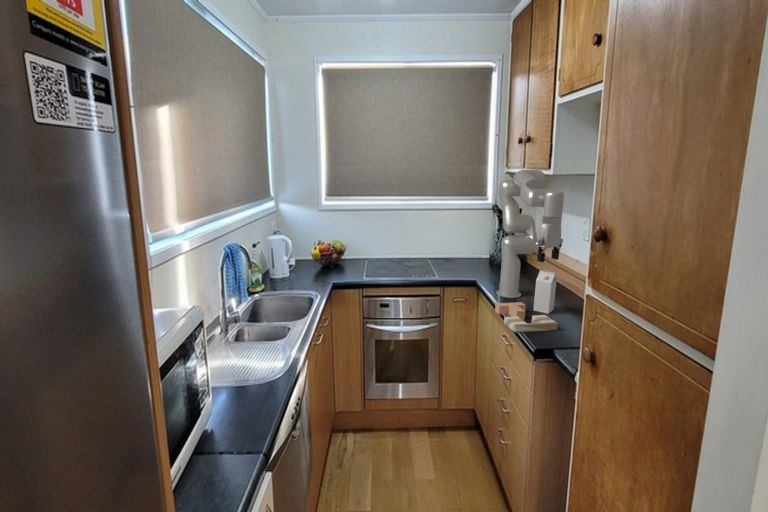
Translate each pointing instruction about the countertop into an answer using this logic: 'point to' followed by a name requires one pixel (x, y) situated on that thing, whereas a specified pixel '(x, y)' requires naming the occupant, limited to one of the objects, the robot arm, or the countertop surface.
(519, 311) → the t block
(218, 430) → the countertop surface
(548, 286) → the milk carton
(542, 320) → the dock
